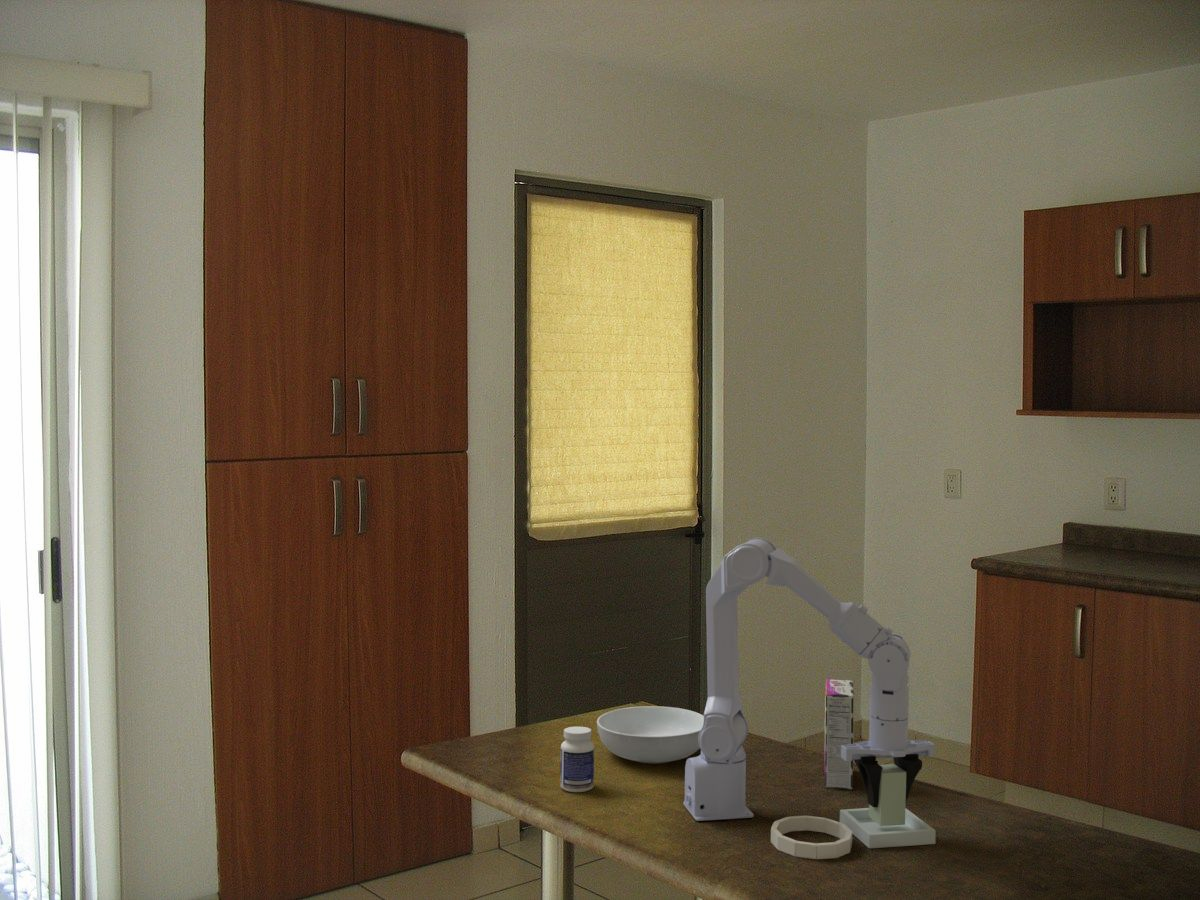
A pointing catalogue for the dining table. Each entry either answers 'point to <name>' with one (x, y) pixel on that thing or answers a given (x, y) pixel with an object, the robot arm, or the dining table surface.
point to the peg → (890, 797)
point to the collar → (809, 848)
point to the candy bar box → (838, 733)
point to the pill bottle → (577, 760)
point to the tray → (887, 830)
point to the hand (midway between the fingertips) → (886, 804)
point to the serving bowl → (651, 733)
